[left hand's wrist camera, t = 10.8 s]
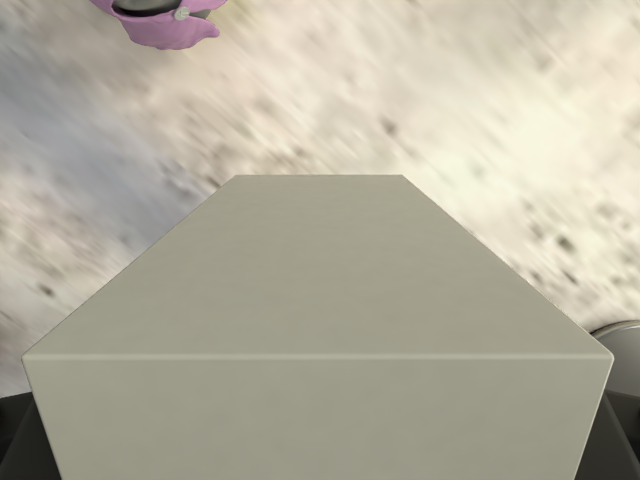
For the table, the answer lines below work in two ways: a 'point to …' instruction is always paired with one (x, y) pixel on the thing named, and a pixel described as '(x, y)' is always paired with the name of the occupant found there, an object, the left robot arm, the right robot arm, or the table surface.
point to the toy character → (164, 20)
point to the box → (318, 349)
